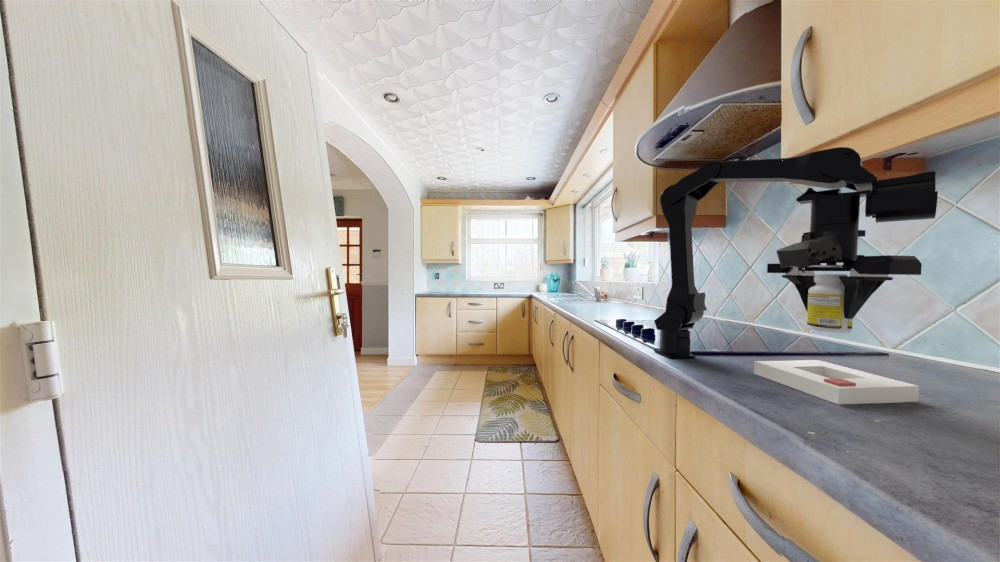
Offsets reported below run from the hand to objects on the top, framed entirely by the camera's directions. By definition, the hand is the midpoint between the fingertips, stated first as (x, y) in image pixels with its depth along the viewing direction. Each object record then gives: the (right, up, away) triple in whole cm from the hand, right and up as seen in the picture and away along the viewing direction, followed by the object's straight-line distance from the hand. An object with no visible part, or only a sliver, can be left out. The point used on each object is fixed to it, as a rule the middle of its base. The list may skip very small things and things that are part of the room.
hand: (828, 315), depth 54 cm
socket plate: (0, -13, +1) cm, 13 cm away
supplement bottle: (0, -3, 0) cm, 3 cm away
